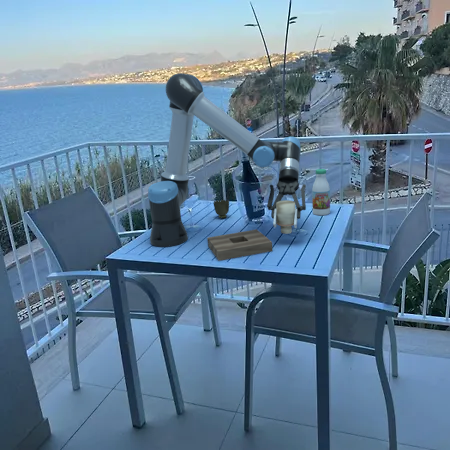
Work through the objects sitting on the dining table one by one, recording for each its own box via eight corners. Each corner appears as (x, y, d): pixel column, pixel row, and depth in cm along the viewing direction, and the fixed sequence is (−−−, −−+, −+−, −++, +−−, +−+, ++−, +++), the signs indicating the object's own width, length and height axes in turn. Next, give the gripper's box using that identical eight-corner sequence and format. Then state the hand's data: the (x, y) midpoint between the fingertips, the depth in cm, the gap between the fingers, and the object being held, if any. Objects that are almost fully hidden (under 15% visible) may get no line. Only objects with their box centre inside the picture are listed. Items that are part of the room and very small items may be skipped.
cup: (228, 220, 187) (227, 203, 184) (213, 220, 188) (211, 203, 186) (231, 215, 194) (230, 198, 191) (216, 215, 195) (215, 199, 193)
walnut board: (208, 246, 156) (207, 237, 155) (257, 237, 161) (256, 229, 160) (218, 260, 141) (217, 251, 140) (272, 251, 146) (272, 241, 145)
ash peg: (274, 230, 154) (273, 201, 151) (290, 228, 156) (290, 199, 153) (281, 236, 148) (280, 206, 145) (298, 233, 150) (298, 203, 146)
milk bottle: (310, 212, 188) (309, 169, 182) (325, 210, 189) (325, 167, 183) (316, 216, 181) (315, 172, 175) (332, 214, 182) (332, 170, 176)
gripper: (315, 178, 158) (313, 231, 148) (265, 178, 163) (259, 230, 153) (314, 166, 152) (312, 221, 142) (262, 168, 157) (256, 220, 147)
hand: (285, 226), depth 148 cm, fingers closed on ash peg, 7 cm apart
